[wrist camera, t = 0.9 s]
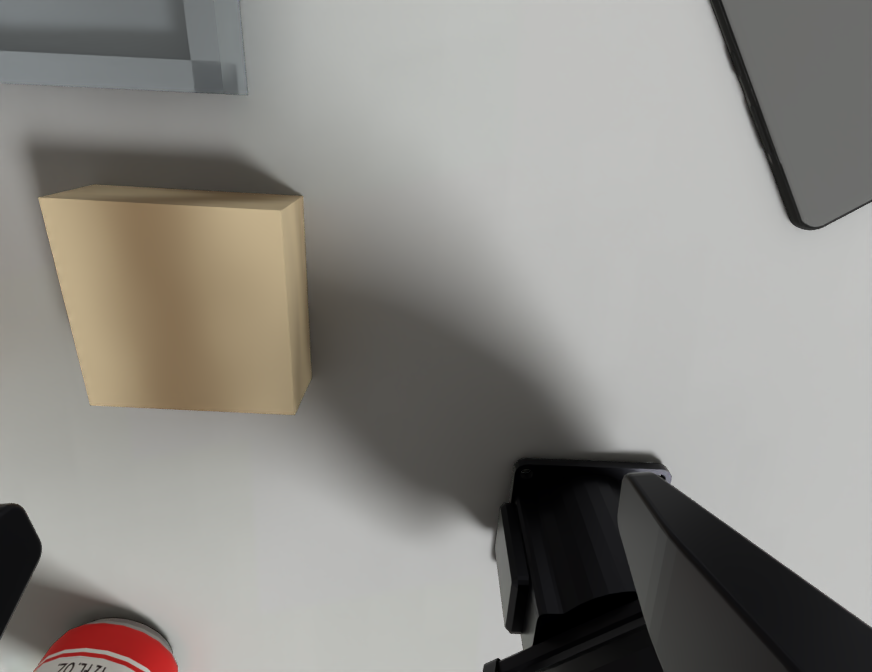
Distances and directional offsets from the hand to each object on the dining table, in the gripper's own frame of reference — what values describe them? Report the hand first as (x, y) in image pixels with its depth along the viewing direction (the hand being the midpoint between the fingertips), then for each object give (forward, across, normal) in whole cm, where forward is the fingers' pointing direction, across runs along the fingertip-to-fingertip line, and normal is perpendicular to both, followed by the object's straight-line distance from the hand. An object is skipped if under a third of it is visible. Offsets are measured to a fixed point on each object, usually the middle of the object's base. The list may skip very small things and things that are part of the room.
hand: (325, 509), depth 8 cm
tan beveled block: (+12, +6, +1) cm, 14 cm away
